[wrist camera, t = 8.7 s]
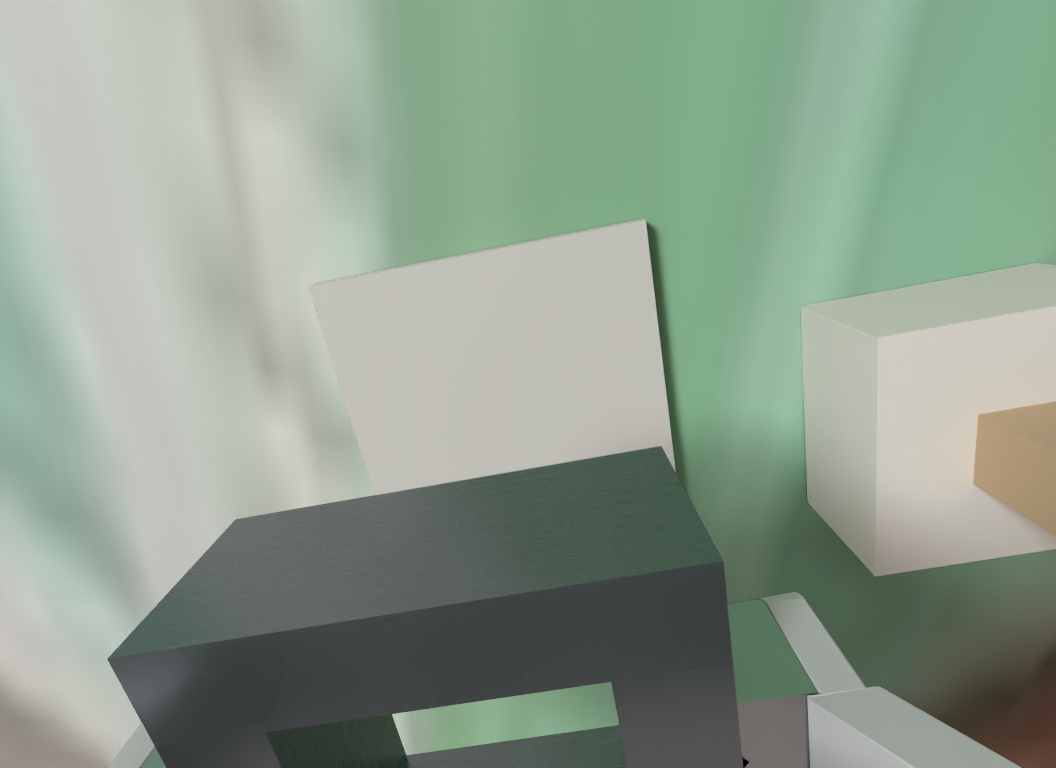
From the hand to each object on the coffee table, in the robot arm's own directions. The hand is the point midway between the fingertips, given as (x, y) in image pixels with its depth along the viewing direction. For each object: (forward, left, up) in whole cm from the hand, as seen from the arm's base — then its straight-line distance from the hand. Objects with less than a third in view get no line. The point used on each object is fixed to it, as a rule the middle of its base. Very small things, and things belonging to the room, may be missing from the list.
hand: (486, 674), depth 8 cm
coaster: (0, 0, -11) cm, 11 cm away
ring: (0, 0, 0) cm, 0 cm away
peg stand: (+2, +13, -11) cm, 17 cm away
